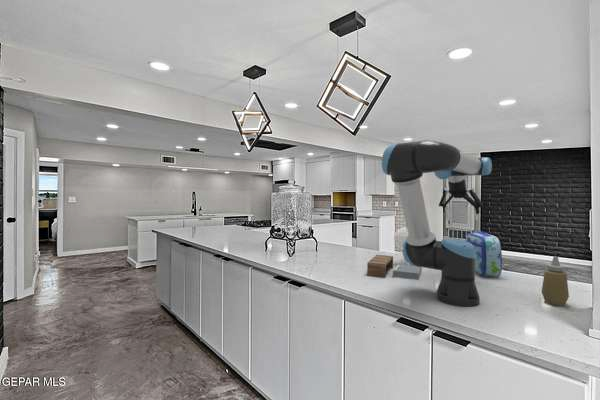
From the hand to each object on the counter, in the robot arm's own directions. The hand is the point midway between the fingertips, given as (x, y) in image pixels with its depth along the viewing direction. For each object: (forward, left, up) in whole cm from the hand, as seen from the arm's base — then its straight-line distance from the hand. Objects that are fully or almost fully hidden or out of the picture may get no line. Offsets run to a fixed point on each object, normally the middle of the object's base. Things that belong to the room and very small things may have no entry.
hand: (462, 218), depth 162 cm
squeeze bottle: (-33, -31, -29) cm, 54 cm away
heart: (+13, +24, -29) cm, 40 cm away
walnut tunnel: (-13, +38, -28) cm, 49 cm away
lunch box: (+8, -10, -29) cm, 31 cm away
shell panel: (-13, +25, -29) cm, 40 cm away
